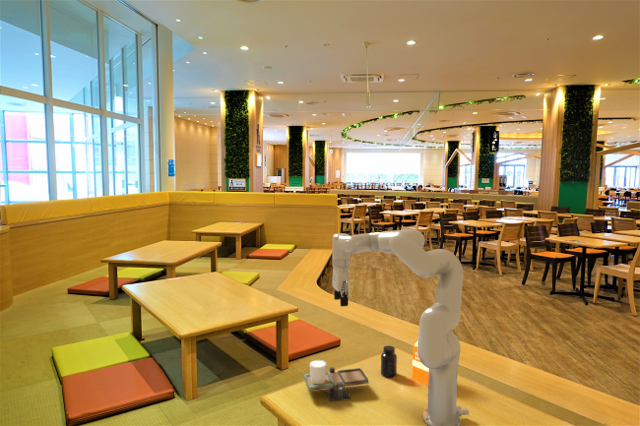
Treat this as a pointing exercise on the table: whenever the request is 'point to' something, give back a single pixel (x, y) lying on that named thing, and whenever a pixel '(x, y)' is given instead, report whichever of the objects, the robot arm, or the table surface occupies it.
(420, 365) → the orange juice
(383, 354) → the supplement bottle
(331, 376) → the balance beam board
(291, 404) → the table surface
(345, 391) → the pivot stand
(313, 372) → the cup of milk
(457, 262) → the robot arm
